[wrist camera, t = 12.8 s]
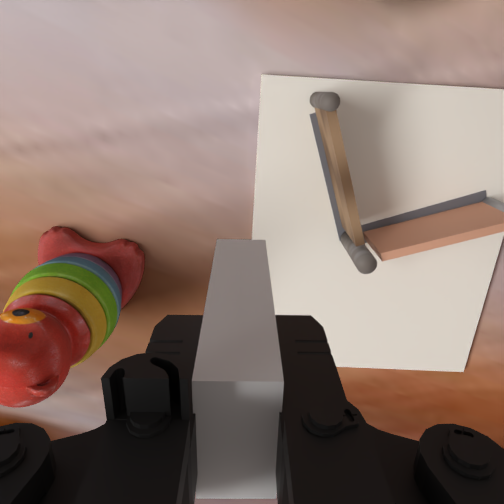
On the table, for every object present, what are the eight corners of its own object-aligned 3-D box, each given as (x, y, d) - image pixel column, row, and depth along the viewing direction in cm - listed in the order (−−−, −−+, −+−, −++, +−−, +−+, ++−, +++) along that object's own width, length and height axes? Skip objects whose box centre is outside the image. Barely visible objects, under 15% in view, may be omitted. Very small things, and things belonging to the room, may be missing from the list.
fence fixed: (305, 95, 38) (317, 96, 31) (324, 88, 37) (341, 88, 31) (342, 248, 43) (358, 276, 36) (359, 243, 43) (378, 270, 36)
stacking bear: (148, 243, 43) (86, 337, 27) (136, 324, 47) (75, 452, 30) (43, 221, 42) (-89, 306, 26) (39, 306, 46) (-79, 428, 29)
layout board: (261, 74, 37) (261, 74, 37) (541, 91, 38) (546, 91, 38) (244, 359, 49) (244, 363, 48) (461, 368, 49) (464, 372, 49)
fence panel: (365, 241, 42) (384, 267, 36) (362, 229, 42) (382, 252, 36) (495, 208, 41) (538, 229, 35) (494, 195, 41) (538, 214, 35)
